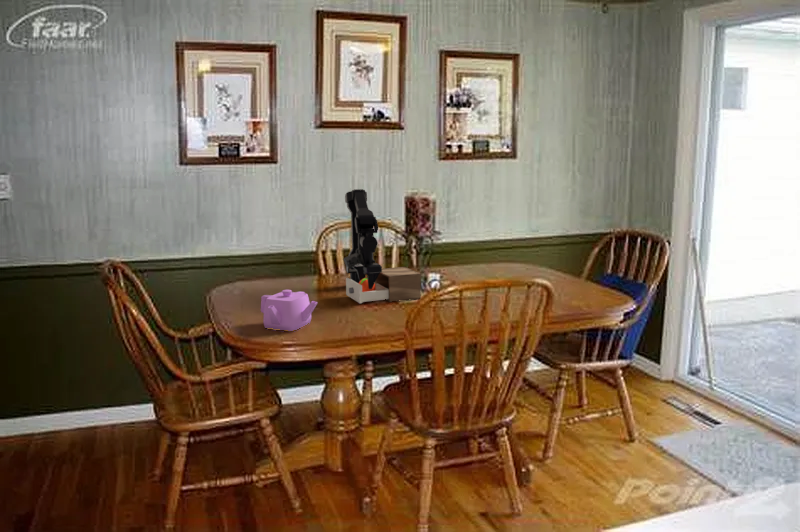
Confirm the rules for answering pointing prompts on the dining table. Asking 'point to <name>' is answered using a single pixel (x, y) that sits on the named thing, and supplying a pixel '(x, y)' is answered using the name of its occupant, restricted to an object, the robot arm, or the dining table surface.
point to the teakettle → (287, 310)
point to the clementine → (366, 285)
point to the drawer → (356, 292)
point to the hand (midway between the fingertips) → (365, 286)
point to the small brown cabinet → (400, 283)
